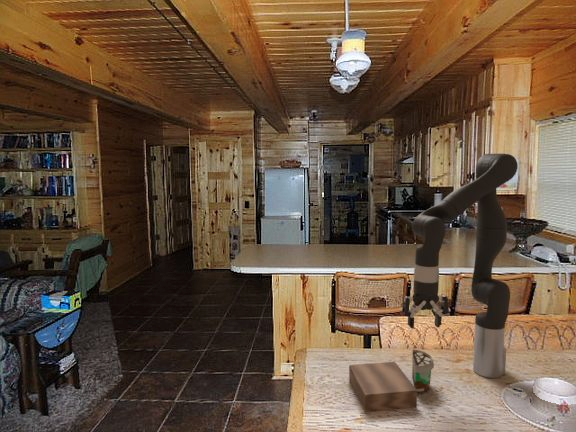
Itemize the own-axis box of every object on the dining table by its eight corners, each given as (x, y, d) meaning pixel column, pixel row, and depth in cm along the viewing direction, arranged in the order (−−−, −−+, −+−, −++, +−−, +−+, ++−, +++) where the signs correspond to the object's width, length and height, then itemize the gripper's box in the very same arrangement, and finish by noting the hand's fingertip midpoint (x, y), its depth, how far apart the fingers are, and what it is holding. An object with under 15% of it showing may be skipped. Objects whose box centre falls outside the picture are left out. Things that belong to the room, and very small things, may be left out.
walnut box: (394, 378, 143) (394, 361, 142) (416, 408, 125) (417, 390, 124) (349, 381, 141) (349, 365, 140) (365, 413, 123) (365, 394, 123)
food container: (435, 398, 130) (436, 368, 129) (415, 396, 131) (416, 366, 130) (430, 377, 142) (431, 349, 141) (411, 376, 143) (412, 348, 142)
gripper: (442, 274, 136) (440, 321, 138) (400, 275, 135) (398, 323, 137) (453, 281, 129) (451, 330, 131) (409, 282, 127) (407, 332, 130)
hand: (424, 327), depth 134 cm, fingers open, 8 cm apart
